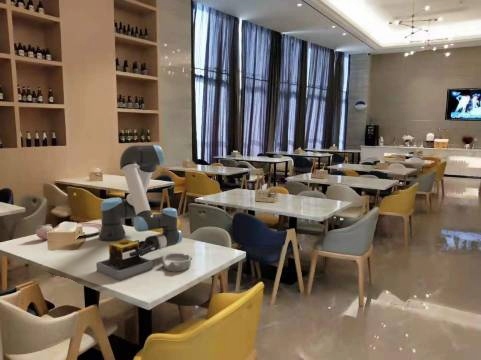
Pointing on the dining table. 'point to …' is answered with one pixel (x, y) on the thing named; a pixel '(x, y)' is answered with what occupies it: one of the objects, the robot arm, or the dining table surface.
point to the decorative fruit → (43, 231)
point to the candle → (122, 247)
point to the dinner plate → (91, 228)
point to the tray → (124, 269)
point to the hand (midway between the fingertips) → (115, 253)
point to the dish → (176, 261)
